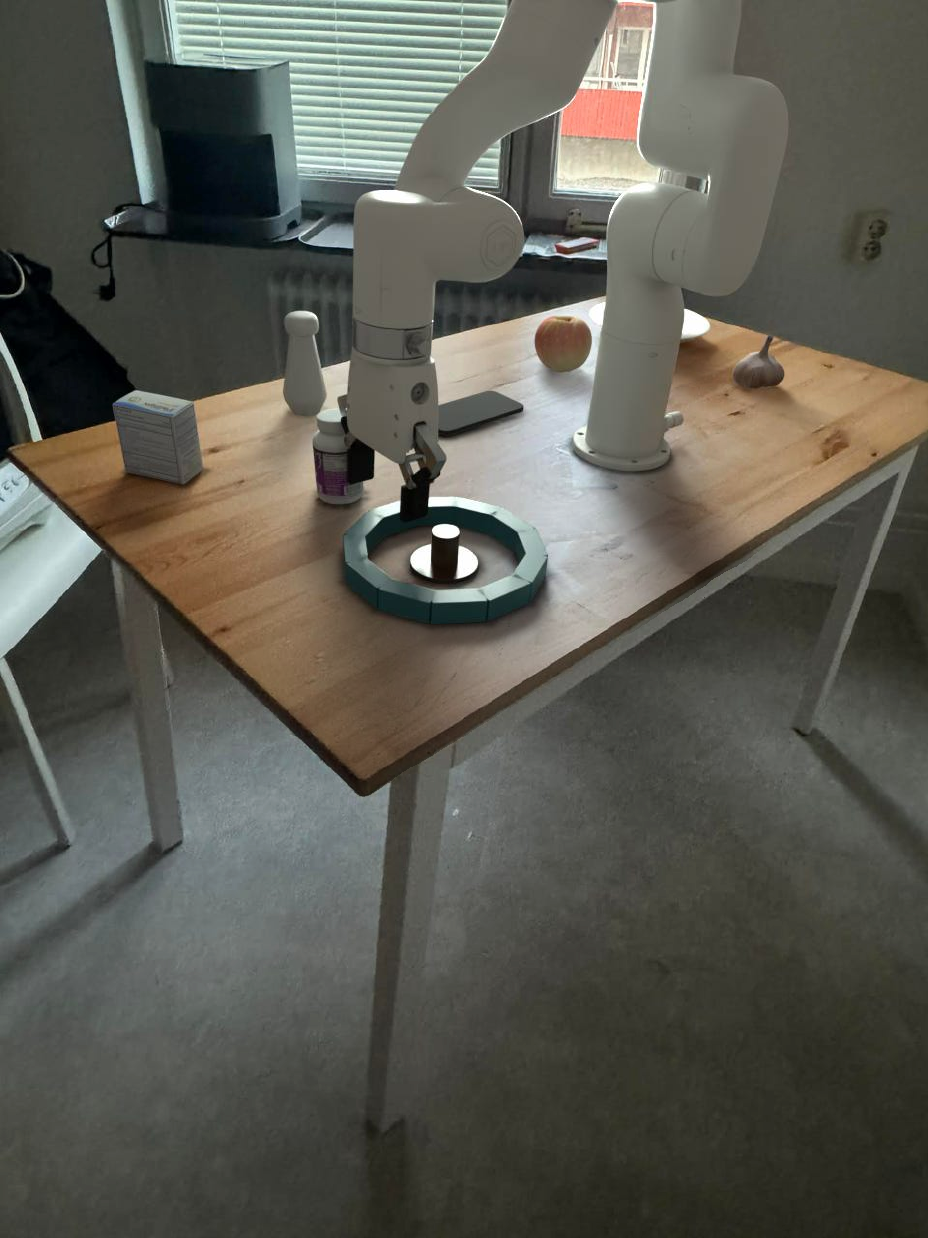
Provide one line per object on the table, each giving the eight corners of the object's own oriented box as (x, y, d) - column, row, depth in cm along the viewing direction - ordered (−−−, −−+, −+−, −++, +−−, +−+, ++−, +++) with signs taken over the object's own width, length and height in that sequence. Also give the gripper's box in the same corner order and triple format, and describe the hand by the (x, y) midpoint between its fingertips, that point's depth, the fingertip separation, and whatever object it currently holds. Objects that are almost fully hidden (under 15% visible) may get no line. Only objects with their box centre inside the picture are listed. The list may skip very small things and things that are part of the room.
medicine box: (204, 470, 104) (196, 400, 99) (183, 486, 101) (172, 415, 96) (147, 457, 106) (135, 388, 101) (124, 473, 103) (110, 402, 97)
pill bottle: (318, 485, 103) (311, 405, 98) (364, 484, 103) (359, 404, 98) (316, 506, 99) (308, 424, 93) (364, 505, 99) (359, 423, 94)
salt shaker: (318, 421, 117) (315, 323, 109) (277, 415, 118) (270, 317, 110) (332, 405, 122) (330, 309, 114) (293, 399, 123) (287, 304, 115)
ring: (459, 499, 102) (460, 480, 101) (583, 580, 90) (586, 559, 88) (307, 550, 91) (306, 530, 90) (423, 649, 79) (424, 628, 78)
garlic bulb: (785, 384, 139) (800, 333, 134) (772, 398, 133) (786, 346, 129) (738, 372, 142) (751, 322, 137) (723, 386, 136) (736, 334, 132)
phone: (409, 413, 119) (491, 388, 127) (409, 419, 119) (490, 394, 128) (445, 432, 115) (527, 406, 123) (445, 438, 115) (526, 411, 123)
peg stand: (449, 540, 95) (451, 507, 92) (492, 570, 90) (495, 536, 88) (396, 559, 91) (396, 525, 89) (437, 591, 87) (439, 557, 84)
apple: (551, 381, 134) (557, 328, 129) (521, 361, 140) (526, 310, 135) (598, 374, 137) (606, 323, 132) (567, 355, 143) (574, 305, 139)
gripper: (481, 359, 80) (465, 525, 90) (373, 307, 91) (369, 460, 101) (414, 372, 76) (405, 544, 86) (309, 315, 87) (312, 475, 96)
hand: (386, 499), depth 93 cm, fingers open, 9 cm apart
